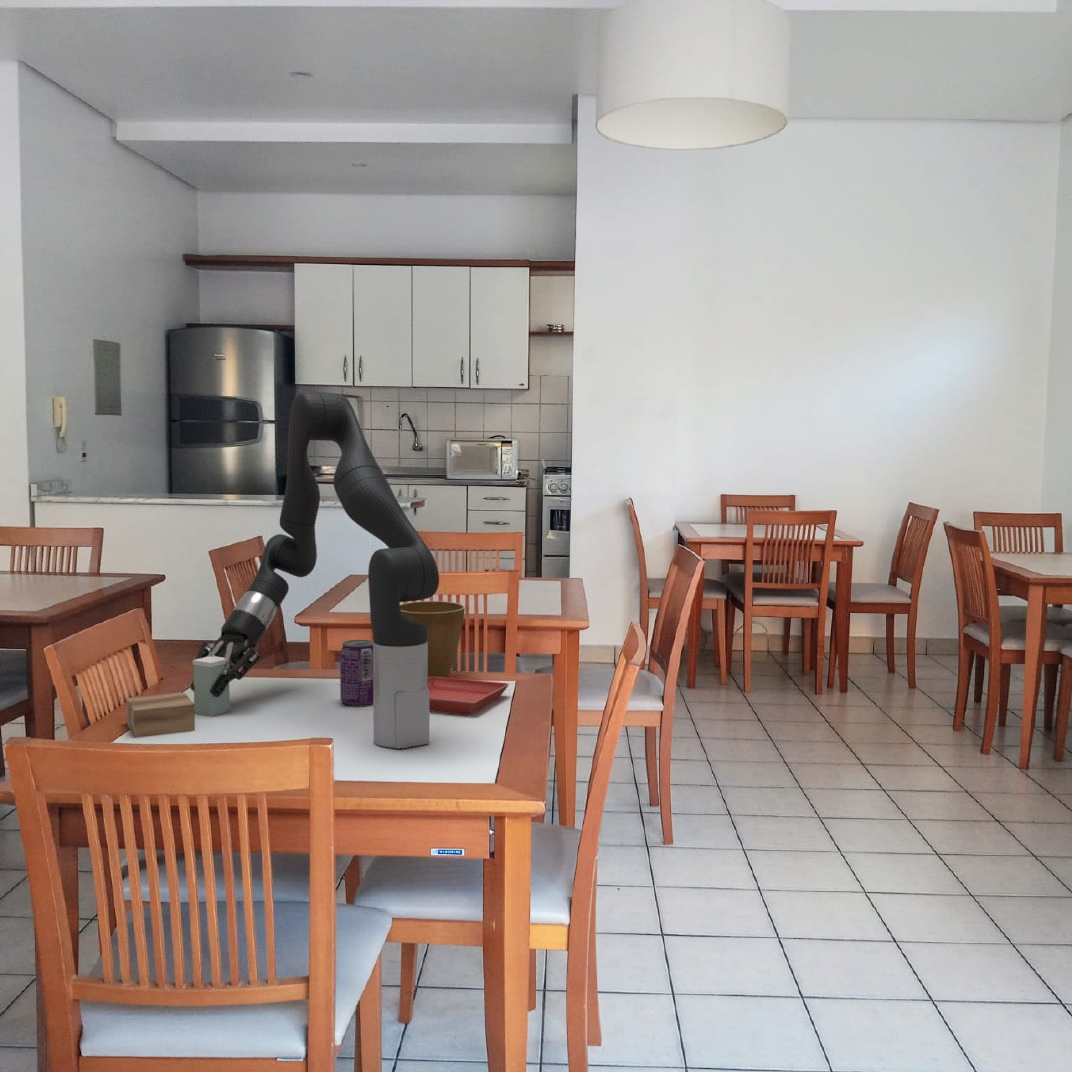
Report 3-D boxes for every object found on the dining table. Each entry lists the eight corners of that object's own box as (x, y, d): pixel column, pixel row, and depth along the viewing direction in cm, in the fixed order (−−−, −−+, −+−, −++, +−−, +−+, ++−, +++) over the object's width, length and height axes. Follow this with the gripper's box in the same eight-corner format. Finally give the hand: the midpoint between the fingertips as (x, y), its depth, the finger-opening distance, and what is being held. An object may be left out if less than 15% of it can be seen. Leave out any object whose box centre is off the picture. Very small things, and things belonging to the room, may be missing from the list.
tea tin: (230, 710, 195) (229, 658, 195) (211, 716, 191) (210, 662, 190) (212, 707, 198) (211, 655, 197) (193, 713, 194) (192, 660, 193)
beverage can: (381, 698, 206) (380, 639, 205) (371, 707, 199) (371, 646, 198) (346, 697, 206) (345, 638, 205) (336, 706, 199) (335, 645, 198)
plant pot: (388, 674, 228) (388, 602, 226) (453, 669, 233) (454, 599, 232) (404, 689, 214) (404, 613, 213) (473, 684, 219) (473, 609, 218)
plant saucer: (429, 690, 215) (429, 674, 215) (510, 698, 209) (510, 682, 208) (388, 711, 198) (388, 694, 198) (474, 720, 192) (474, 702, 192)
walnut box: (194, 732, 182) (194, 704, 182) (134, 739, 177) (134, 710, 177) (184, 718, 191) (184, 692, 190) (126, 725, 186) (126, 698, 186)
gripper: (212, 605, 203) (165, 677, 193) (267, 611, 196) (220, 686, 186) (233, 627, 208) (187, 699, 198) (287, 634, 201) (242, 708, 192)
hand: (204, 692), depth 193 cm, fingers closed on tea tin, 4 cm apart
